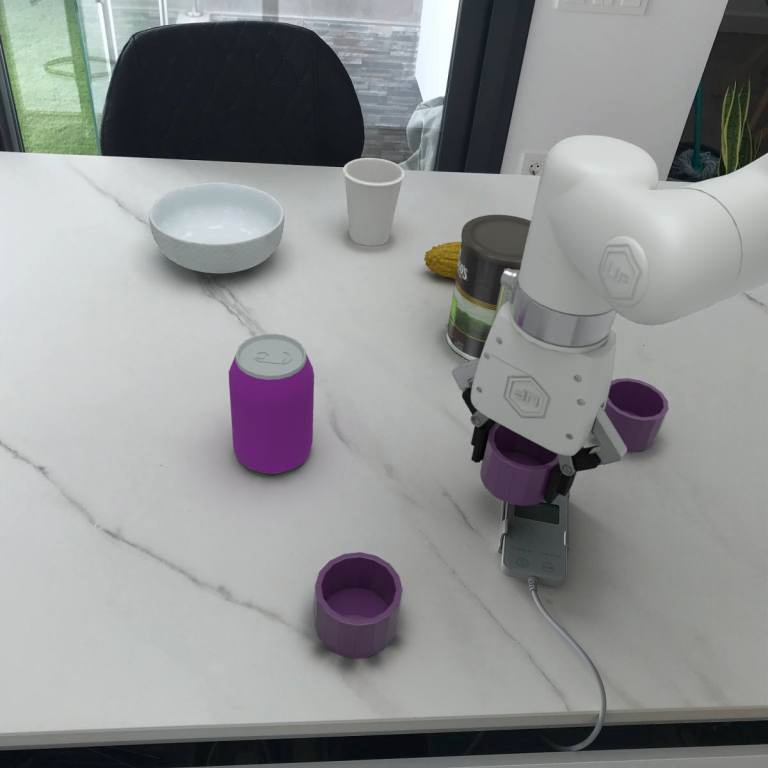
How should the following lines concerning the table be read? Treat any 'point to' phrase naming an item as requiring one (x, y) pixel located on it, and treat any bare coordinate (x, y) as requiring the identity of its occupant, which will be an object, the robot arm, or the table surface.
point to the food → (444, 259)
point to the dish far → (636, 412)
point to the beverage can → (271, 403)
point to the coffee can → (483, 279)
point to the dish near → (357, 604)
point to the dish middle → (516, 467)
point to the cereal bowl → (217, 226)
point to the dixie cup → (371, 198)
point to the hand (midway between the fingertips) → (518, 472)
